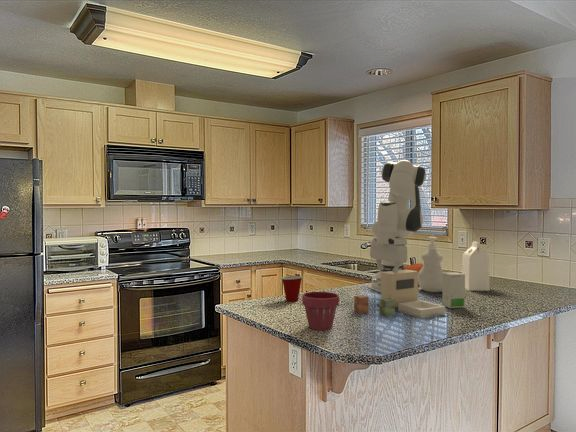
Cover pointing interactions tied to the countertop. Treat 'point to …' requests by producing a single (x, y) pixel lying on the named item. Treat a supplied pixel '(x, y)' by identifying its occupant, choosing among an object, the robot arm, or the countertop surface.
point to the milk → (476, 268)
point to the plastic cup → (292, 287)
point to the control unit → (399, 286)
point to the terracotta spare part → (361, 304)
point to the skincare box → (453, 290)
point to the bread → (414, 267)
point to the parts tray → (421, 309)
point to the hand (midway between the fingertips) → (387, 271)
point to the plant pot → (320, 309)
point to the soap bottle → (431, 270)
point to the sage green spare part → (386, 307)
